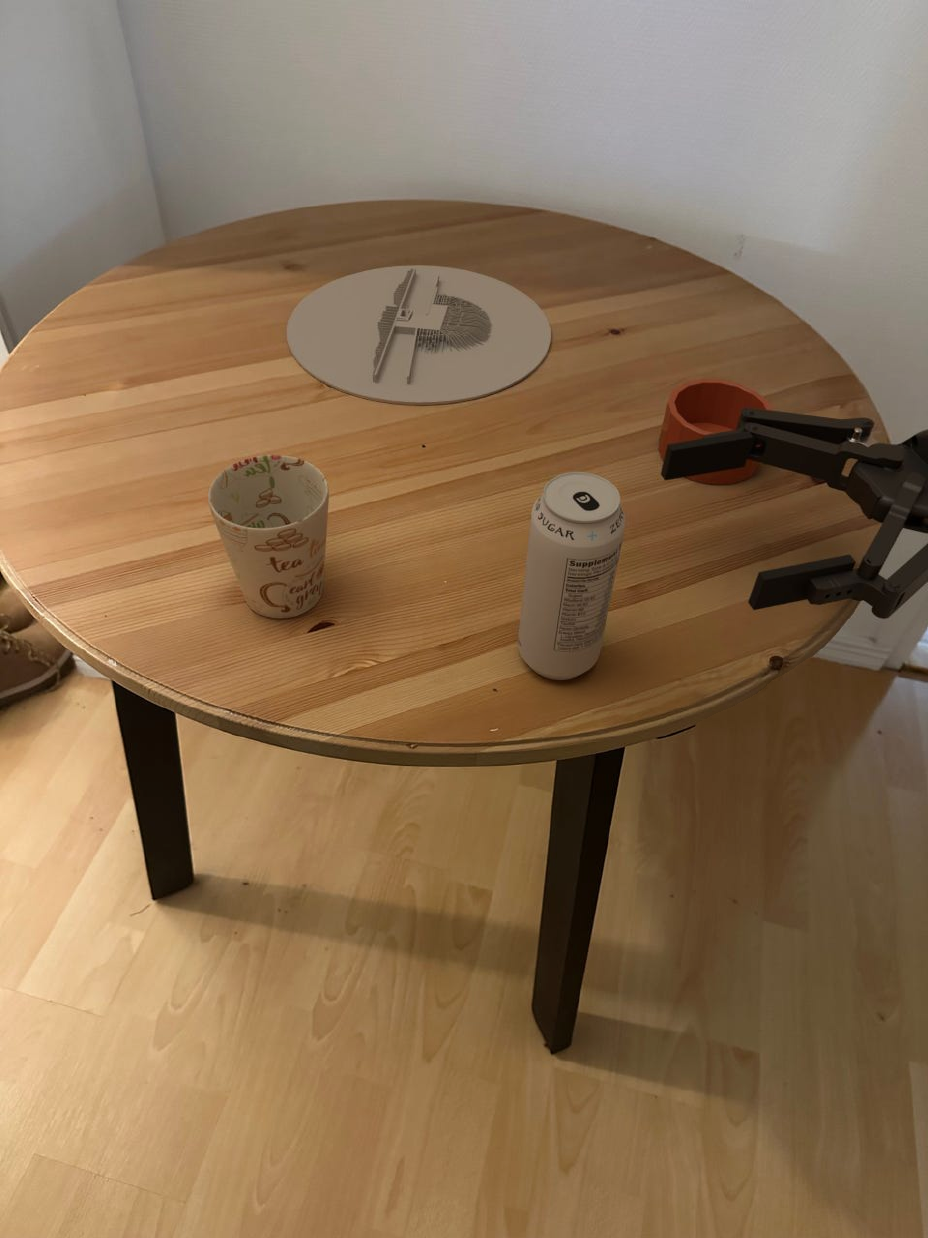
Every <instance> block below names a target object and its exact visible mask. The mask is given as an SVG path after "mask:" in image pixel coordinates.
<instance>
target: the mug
mask: <svg viewBox="0 0 928 1238" xmlns="http://www.w3.org/2000/svg"><path fill="white" fill-rule="evenodd" d="M329 500H330V489H329V484H328V481H327V479H326V477H325V475H324V474H323V472H322V471H321V470H320V469H319V468H318V467H317V466H315V465H313V464H312V463H310V462H309V461H307V460H305V459H302V458H298V457H295V456H290V455H283V454H266V455H264V454H263V455H257V456H252V457H249V458H245V459H243V460H240V461H238V462H235V463H233V464H231V465H230V466H228V467H226V468H225V469H224V470H222V471H221V472H220V473H219V474H218V475H217V476H216V477H215V478H214V480H213V481H212V482H211V484H210V486H209V489H208V494H207V502H208V506H209V510H210V513H211V516H212V519H213V522H214V524H215V526H216V529H217V532H218V534H219V537H220V539H221V541H222V542H221V543H222V544H223V547H224V549H225V551H226V554H227V557H228V560H229V563H230V565H231V567H232V569H233V572H234V575H235V578H236V580H237V584H238V585H239V588H240V591H241V593H242V596H243V598H244V601H245V602H246V604H247V606H248V607H249V608H250V609H251V610H252V611H253V612H254V613H256V614H258V615H261V616H263V617H265V618H269V619H270V618H271V619H280V620H281V619H289V618H294V617H295V618H296V617H297V616H300V615H303V614H304V613H306V612H308V611H310V610H311V609H312V608H314V606H316V604H317V603H318V602H319V601H320V599H321V596H322V594H323V590H324V577H325V562H326V561H325V560H326V547H327V533H328V518H329V517H328V516H329V502H330V501H329Z"/></svg>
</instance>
